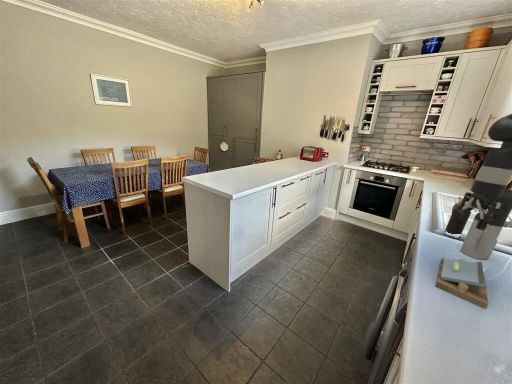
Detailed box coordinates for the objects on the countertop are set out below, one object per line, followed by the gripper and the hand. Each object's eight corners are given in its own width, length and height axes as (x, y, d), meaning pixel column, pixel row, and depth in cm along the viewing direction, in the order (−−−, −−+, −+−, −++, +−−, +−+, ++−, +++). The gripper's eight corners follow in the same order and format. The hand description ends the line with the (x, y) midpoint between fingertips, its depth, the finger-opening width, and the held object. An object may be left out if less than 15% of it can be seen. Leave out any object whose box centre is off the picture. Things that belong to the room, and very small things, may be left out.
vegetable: (456, 230, 124) (469, 199, 118) (448, 229, 125) (460, 198, 119) (451, 227, 129) (463, 196, 122) (443, 225, 129) (455, 195, 123)
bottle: (442, 234, 118) (455, 201, 111) (445, 231, 122) (458, 199, 115) (458, 240, 113) (473, 206, 106) (460, 236, 117) (475, 203, 110)
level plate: (444, 260, 89) (443, 254, 89) (482, 265, 81) (481, 258, 81) (441, 279, 77) (440, 272, 77) (485, 287, 69) (484, 279, 69)
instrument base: (440, 261, 92) (444, 252, 91) (482, 276, 84) (486, 267, 83) (435, 286, 77) (439, 276, 75) (485, 308, 68) (491, 298, 67)
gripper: (524, 187, 63) (499, 235, 67) (488, 179, 76) (469, 219, 80) (494, 183, 64) (472, 230, 69) (463, 175, 78) (447, 215, 82)
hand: (471, 224), depth 75 cm, fingers open, 8 cm apart
